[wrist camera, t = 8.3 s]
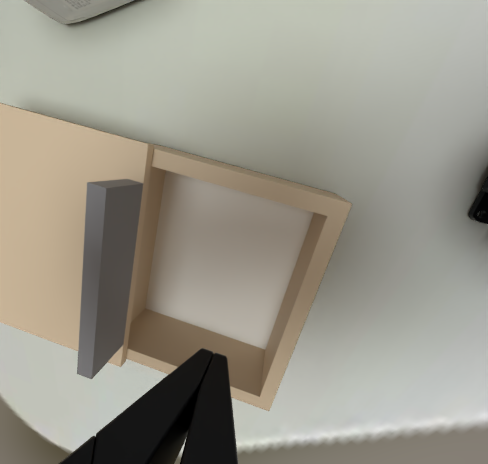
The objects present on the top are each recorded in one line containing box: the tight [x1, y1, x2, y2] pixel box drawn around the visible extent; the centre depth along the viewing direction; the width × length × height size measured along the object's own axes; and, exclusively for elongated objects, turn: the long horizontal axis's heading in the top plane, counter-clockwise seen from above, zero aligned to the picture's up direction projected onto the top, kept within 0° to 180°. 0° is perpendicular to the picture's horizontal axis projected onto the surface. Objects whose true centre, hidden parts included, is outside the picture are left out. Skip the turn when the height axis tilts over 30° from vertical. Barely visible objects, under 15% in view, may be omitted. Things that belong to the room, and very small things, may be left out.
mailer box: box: [126, 143, 352, 411], centre depth 18 cm, size 14×16×5 cm
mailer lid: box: [0, 103, 154, 379], centre depth 15 cm, size 14×16×4 cm
